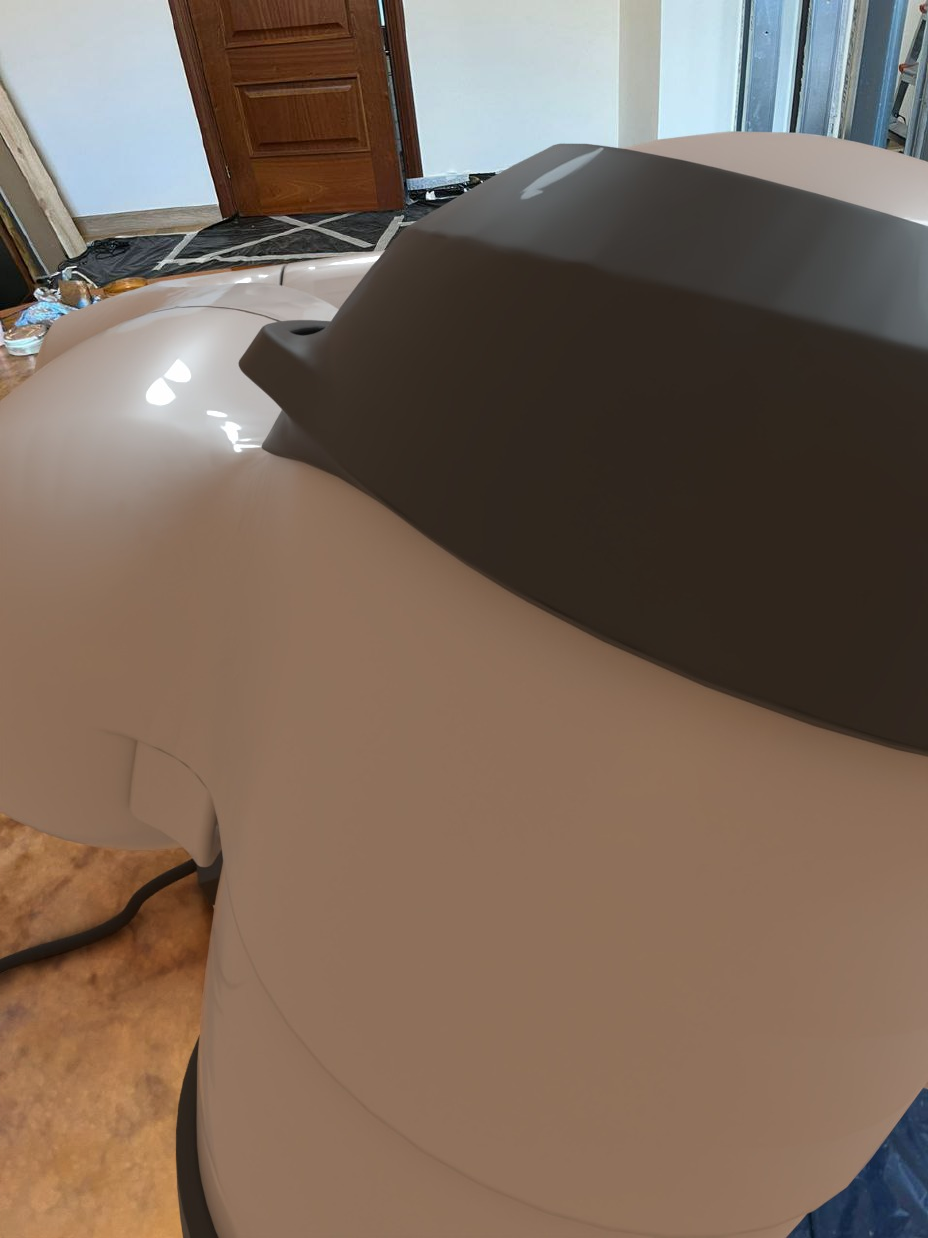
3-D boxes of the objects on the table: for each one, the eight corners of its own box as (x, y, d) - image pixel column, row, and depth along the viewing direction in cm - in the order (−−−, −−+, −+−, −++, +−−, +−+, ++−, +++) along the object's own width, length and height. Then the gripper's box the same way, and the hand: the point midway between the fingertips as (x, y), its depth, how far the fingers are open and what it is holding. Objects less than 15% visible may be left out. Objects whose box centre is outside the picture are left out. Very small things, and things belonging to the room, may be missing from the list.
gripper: (928, 411, 59) (808, 342, 69) (656, 485, 56) (574, 401, 66) (908, 490, 63) (798, 413, 73) (653, 562, 60) (576, 471, 70)
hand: (690, 408), depth 70 cm, fingers closed on packet, 5 cm apart
